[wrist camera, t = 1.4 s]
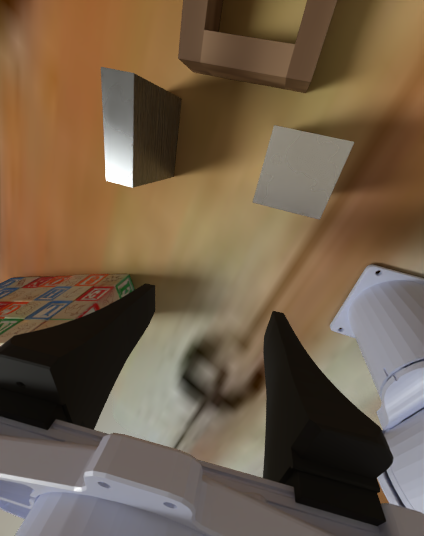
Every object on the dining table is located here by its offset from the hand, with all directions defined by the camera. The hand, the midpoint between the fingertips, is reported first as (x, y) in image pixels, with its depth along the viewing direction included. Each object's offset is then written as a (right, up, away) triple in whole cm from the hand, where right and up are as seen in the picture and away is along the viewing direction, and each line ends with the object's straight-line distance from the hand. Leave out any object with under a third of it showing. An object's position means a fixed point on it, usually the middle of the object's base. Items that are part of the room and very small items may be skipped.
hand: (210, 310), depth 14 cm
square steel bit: (+7, +11, +5) cm, 13 cm away
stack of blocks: (-20, -1, +19) cm, 27 cm away
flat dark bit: (-4, +14, +6) cm, 16 cm away
